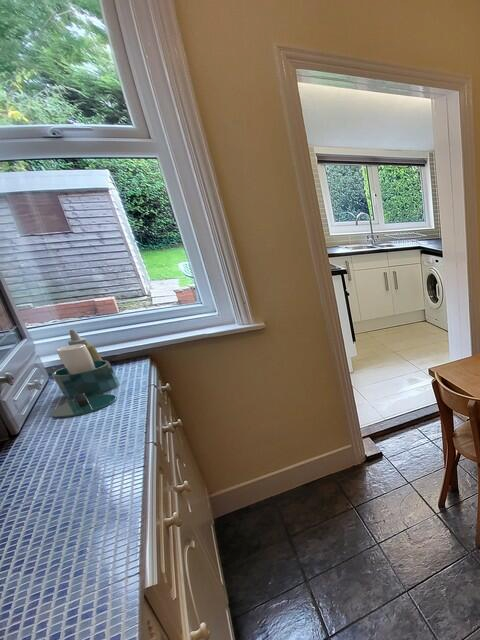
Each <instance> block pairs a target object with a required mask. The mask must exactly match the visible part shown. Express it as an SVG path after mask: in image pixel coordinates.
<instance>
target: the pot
mask: <svg viewBox="0 0 480 640" xmlns="http://www.w3.org/2000/svg"><path fill="white" fill-rule="evenodd" d="M93 363H94V365H95V368H96V369H93V370H89V371H85V372H81V373H76V374H70V373H69V372H68V370H67V369H66V367H65V366H64V367H61V368H59V369H56V370H54V371H53V372H52V373H51V375H52V377H53V379H54V381H55V383H56V385H57V387H58V388H59V390H60V392H61V394H62V395H63V397H64V399H67V400H75V398H74V396H73V395H75V394H78V393H85V395H86V397H90V396H96V395H102V394H104V393H106V392H109V391H112V390H113V389H115V388H118V386H119V385H120V382H119V379H118V377H117V375H116V373H115V371H114V369H113V367H112V365H111V363H110V361H108V360H105V359H104V360H103V359H102V360H99V361H93Z"/></svg>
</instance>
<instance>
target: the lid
mask: <svg viewBox="0 0 480 640" xmlns="http://www.w3.org/2000/svg"><path fill="white" fill-rule="evenodd" d="M73 396H74V398H75V399H74V400H72V401H69V402H67V403H64V404H62V405H60V406H58V407H55V408H54V409H53V410H51V412H50V416H51V417H52V418H55V419H66V418H72V417H77V416H83V415H86V414H90V413H93V412H97V411H99V410H102V409H104V408H106V407H109V406H110V405H112V404H113V403H114V402H116V401H117V397H116V395H114V394H109V393H108V394H104V393H103V394H98V395H94V396H90V397H86V395H85V393H78V394H75V395H73Z"/></svg>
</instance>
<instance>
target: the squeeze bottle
mask: <svg viewBox="0 0 480 640" xmlns="http://www.w3.org/2000/svg"><path fill="white" fill-rule="evenodd" d="M68 331H69V337H70V340H67V344H68V346H70V345H76V344H84V345H85V346H86V347H87V349H88V351H89V353H90V355H91V357H92V360H93V361H99V360H103V358H102V357H101V354H100V353H99V352H98V350H97V349H96V348H95V346H94V344H92V343H89V342H88V340H87V337H81V336H80V335H79V334H78V332H77V331H76V330H75V329H69V330H68Z"/></svg>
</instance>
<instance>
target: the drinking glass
mask: <svg viewBox="0 0 480 640" xmlns="http://www.w3.org/2000/svg"><path fill="white" fill-rule="evenodd" d="M56 353H57V355H58V357H59V359H60V361H61V363H62V365H63V366H64V367H66V369H67V370H68V372H69V373H70V374H76V373H81V372H85V371H89V370H93V369H96V368H95V365H94V363H93V360H92V357H91V355H90V353H89V351H88V349H87V347H86V346H85V345H84V344H76V345H70V346H69V345H66V346H62V347H59V348H56Z"/></svg>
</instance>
